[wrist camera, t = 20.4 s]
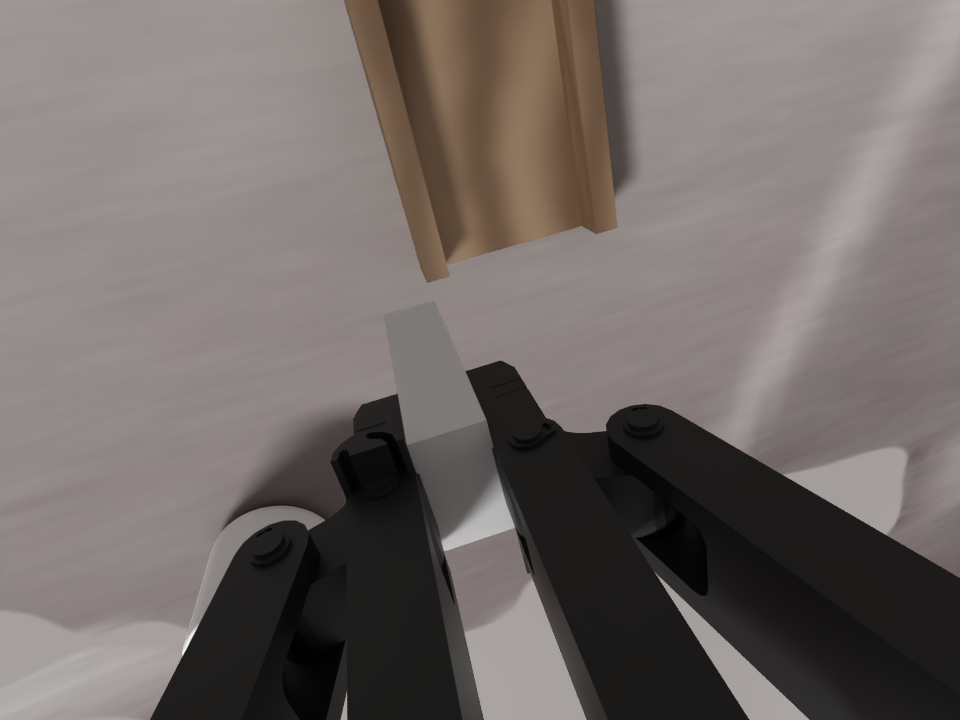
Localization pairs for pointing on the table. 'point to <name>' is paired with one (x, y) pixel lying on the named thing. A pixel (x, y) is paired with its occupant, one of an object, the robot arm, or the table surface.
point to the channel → (488, 120)
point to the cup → (229, 546)
